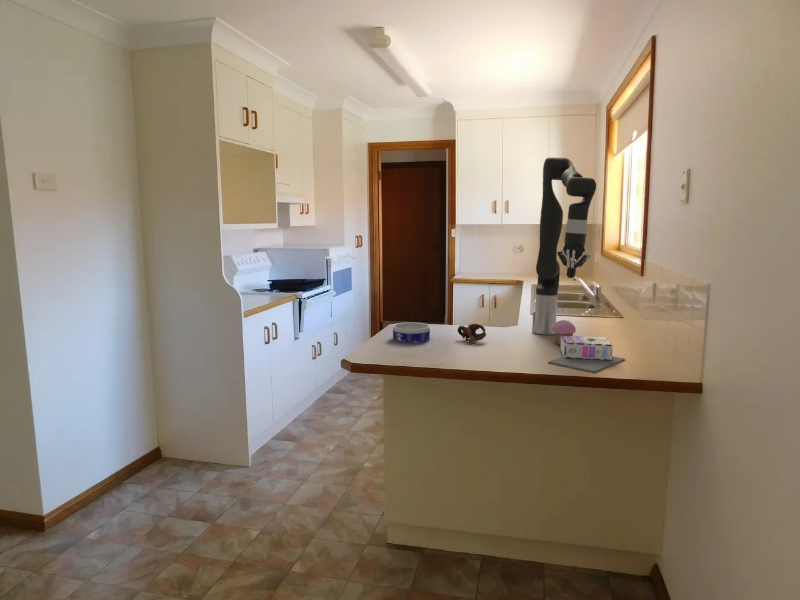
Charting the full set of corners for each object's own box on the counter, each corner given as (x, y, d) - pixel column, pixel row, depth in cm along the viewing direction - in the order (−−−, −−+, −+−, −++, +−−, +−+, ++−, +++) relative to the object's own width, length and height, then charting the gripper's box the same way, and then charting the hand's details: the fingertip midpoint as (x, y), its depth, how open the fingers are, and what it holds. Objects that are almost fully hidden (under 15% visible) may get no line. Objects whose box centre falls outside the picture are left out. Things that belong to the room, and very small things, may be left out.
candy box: (563, 358, 197) (612, 360, 194) (564, 342, 196) (613, 344, 193) (560, 350, 210) (605, 352, 207) (560, 335, 209) (606, 336, 206)
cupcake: (568, 342, 226) (569, 318, 224) (578, 346, 217) (580, 322, 216) (547, 342, 224) (549, 318, 223) (557, 347, 216) (558, 322, 214)
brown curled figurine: (485, 340, 230) (489, 325, 225) (480, 354, 223) (484, 339, 218) (458, 331, 233) (461, 316, 228) (451, 345, 226) (455, 330, 220)
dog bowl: (386, 341, 224) (386, 326, 224) (403, 334, 238) (403, 320, 237) (419, 345, 217) (420, 330, 217) (435, 338, 231) (435, 324, 230)
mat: (548, 363, 193) (548, 361, 192) (580, 351, 209) (580, 350, 209) (594, 372, 181) (594, 371, 181) (624, 360, 198) (624, 358, 198)
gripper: (554, 230, 208) (550, 275, 211) (586, 233, 198) (581, 280, 201) (565, 230, 213) (561, 275, 216) (597, 233, 203) (591, 279, 206)
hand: (570, 277), depth 209 cm, fingers closed
